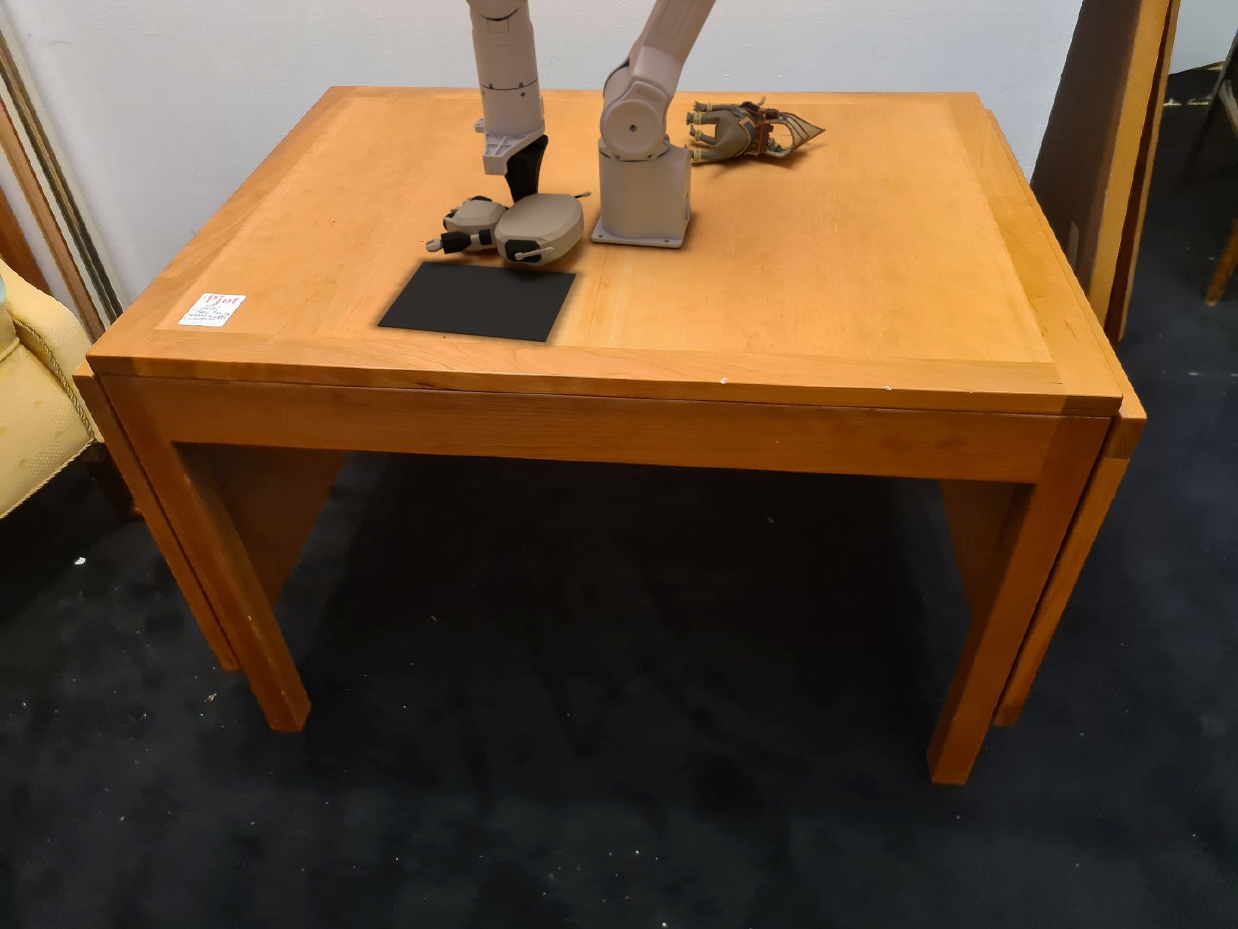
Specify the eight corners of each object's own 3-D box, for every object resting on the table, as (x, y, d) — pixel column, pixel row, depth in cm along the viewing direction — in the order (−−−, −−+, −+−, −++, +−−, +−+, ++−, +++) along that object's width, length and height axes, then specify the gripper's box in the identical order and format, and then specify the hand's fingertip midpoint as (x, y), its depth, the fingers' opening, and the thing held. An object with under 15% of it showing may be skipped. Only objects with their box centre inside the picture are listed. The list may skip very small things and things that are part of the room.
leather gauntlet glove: (696, 77, 112) (828, 83, 110) (693, 125, 116) (821, 132, 114) (680, 126, 97) (833, 134, 95) (677, 179, 101) (825, 188, 99)
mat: (576, 274, 86) (576, 273, 86) (545, 341, 77) (545, 340, 77) (423, 261, 89) (423, 260, 89) (377, 325, 80) (377, 324, 80)
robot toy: (425, 276, 88) (563, 285, 84) (413, 235, 85) (557, 242, 81) (472, 220, 97) (600, 226, 93) (463, 181, 94) (595, 185, 90)
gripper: (491, 49, 89) (508, 175, 99) (443, 107, 79) (467, 240, 89) (558, 52, 88) (568, 178, 97) (517, 110, 78) (533, 245, 87)
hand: (524, 208), depth 93 cm, fingers closed, pressing on robot toy
